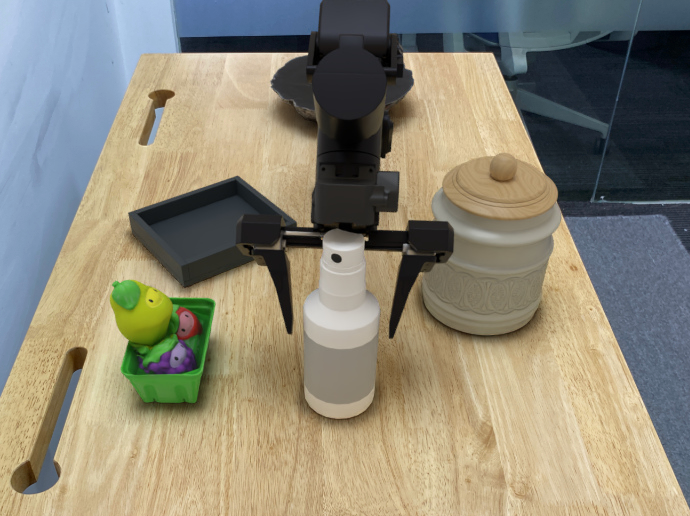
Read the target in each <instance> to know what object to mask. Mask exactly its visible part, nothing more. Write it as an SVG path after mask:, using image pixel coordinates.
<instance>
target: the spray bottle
mask: <svg viewBox="0 0 690 516" xmlns="http://www.w3.org/2000/svg"><path fill="white" fill-rule="evenodd" d="M322 240H323V249H322V254H321V256H320V259H319V279H318V287H317V288H315V289H314V290H312V291H311V292H310V293H309V294H308V295H307V296H306V298H305V300H304V303H303V306H302V325H303V326H302V327H303V328H302V329H303V331H302V333H303V334H302V335H303V391H304V399H305V401H306V402H307V404H308V406H309V407H310V408H311V409H312V410H313V411H315V413H316V414H319V415H321V416H323V417H326V418H331V419H336V420H339V419H340V420H341V419H349V418H353V417H357V416H359V415H360V414H362V413H364V412H365V411H367V410H368V408H369V407H370V405H371V404H372V403H373V400H374V396H375V389H376V388H375V387H376V377H377V376H376V375H377V374H376V373H377V362H378V350H379V349H378V348H379V338H380V337H379V336H380V322H381V307H380V302H379V299H378V298H377V297H376V295H375V294H374V293H373V292H371V291H370V290H368V289H367V281H366V278H367V277H366V274H367V259H366V257H365V251H364V244H365V240H366V239H365V237H364V236H363V235H362V234H357V233H351V232H347V231H343V230H340V229H337V228H336V229H332V230H330V231H328V232H327V233H326V234H325V235H324V237H323V238H322Z"/></svg>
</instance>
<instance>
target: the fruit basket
mask: <svg viewBox="0 0 690 516" xmlns="http://www.w3.org/2000/svg"><path fill="white" fill-rule="evenodd" d="M111 286H112V287H113V289H112V291H111V292H110V295H109V304H110V308H111V309H112V311H113V314H114V319H115V324H116V326H117V329H118V332H120V333H121V335H122V336H123V337H124V338H125V339H126V340H128V341H127V345H126V348H125V352H124V355H123V358H122V360H121V365H120V372H121V374H122V375H123V376H124V377H125V378H126V379H127V380H128V381H129V382H130V384H131V386H133V388H134V390H135V391H136V392H137V394H138V396H139V397H140V398H141V400H142V401H143V402H144V403H152V402H153V403H154V402H156V403H163V404H180V403H184V402H185V403H188V404H195V403H197V400H198V395H199V390H200V384H201V379H202V376H203V373H204V367H205V361H206V356H207V352H208V348H209V342H210V337H211V333H212V326H213V320H214V315H215V310H216V304H217V303H216V301H215V300H214V299H213V298H210V297H185V296H184V297H181V296H180V297H179V296H178V297H177V296H175V297H173V296H168V295H167V294H166V293H164V292H163V291H161V290H159V289H158V288H155V287H153V286H152V285H151V286H150V285H147V284H145V283H143V282H141V281H138V280H136V279H125V280H122V281H121V282H120V281H119V280H115V281H113V282H112V284H111Z"/></svg>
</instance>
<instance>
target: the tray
mask: <svg viewBox="0 0 690 516" xmlns="http://www.w3.org/2000/svg"><path fill="white" fill-rule="evenodd" d="M127 214H128V215H127V216H128V220H129V221H128V222H129V225H130V230H131V231H130V232H131V235H133V237H135V238H136V239H137V240H138V242H140V243H141V244H142V245H143V247H144V248H146V250H147V251H148V252H149V253H150V254H151V255H152V256H153V257H154V258H155V259H156V260H157V261H158V262H159V263H160V264H161V266H163V267H164V269H166V270H167V271H168V272H169V273H170V274H171V276H173V278H174V279H175V280H176V281H177V282H178V283H179V284H180V285H181V286H182V287H183V288H187V287H190V286H192V285H195V284H197V283H200V282H203V281H205V280H208V279H210V278H212V277H215V276H217V275H220V274H222V273H225V272H228V271H230V270H233V269H235V268H237V267H240V266H242V265H245V264H248V263H250V262H252V261H255V260H254V258H253V257H252V256H246V255H243V254H242V252H241V251H240V250H239V248H238V247H237V246H236V244H235V241H236V225H237V221H238V220H239V219H240V218H241V216H242V215H243V214H260V215H282V216H283V219H284V221H285V224H286V226H289V227H298V222H297V220H295V219H294V218H292V217H291V216H290V215H289V214H287V212H285V211H284V210H283V209H281V208H280V207H279V206H277V205H276V204H275V203H274V202H273V201H271V200H270V199H269V198H267V197H266V196H265V195H264V194H263V193H261V192H260V191H258V190H257V189H256V188H254V187H253V186H252V185H251V184H249V183H248V182H247V181H246V180H244V178H242V177H241V176H240V175H235V176H232V177H228V178H226V179H223V180H221V181H217V182H214V183H211V184H208V185H205V186H203V187H199V188H197V189H194V190H191V191H187V192H185V193H182V194H178V195H176V196H173V197H170V198H167V199H164V200H161V201H158V202H155V203H152V204H150V205H147V206H144V207H141V208H138V209H134V210H132V211H128V212H127Z"/></svg>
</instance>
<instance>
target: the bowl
mask: <svg viewBox="0 0 690 516" xmlns="http://www.w3.org/2000/svg"><path fill="white" fill-rule="evenodd" d="M307 57H308V54H305V55H301V56H296V57H294V58H290V59H289V60H288V61H286V62H285V63H284V64H283V66H281V67H280V68H278V69H277V70H276V72H275V73H274V74H273V76H272V78H271V80H270V81H269V83H270V88H271V89H272V90H273V91H274V93H276V95H278V97H279V98H280V99H281V100H282V101H283V102H284V103H285V104H288V105H290V106H293V107H294V110H295V111H296V113H297V114H298V115H300V116H302V118H304V120H306V121H309V122H317V120H316V113H315V105H314V97H313V88H312V83H307V77H306V65H307ZM414 84H415V78H414V77H413V70H412V69H408V68H406V64H405V62H404V68H403V78H396V84H395V85H387V89H386V98H385V107H384V110H389V111H390V110H391V109H392V108H393V107H394V106H396V105H398V103H400V102H401V101H402V100H404V98H405V97H406V95H408V94H409V92H410V91H412V88H413V87H414V86H415V85H414Z"/></svg>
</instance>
